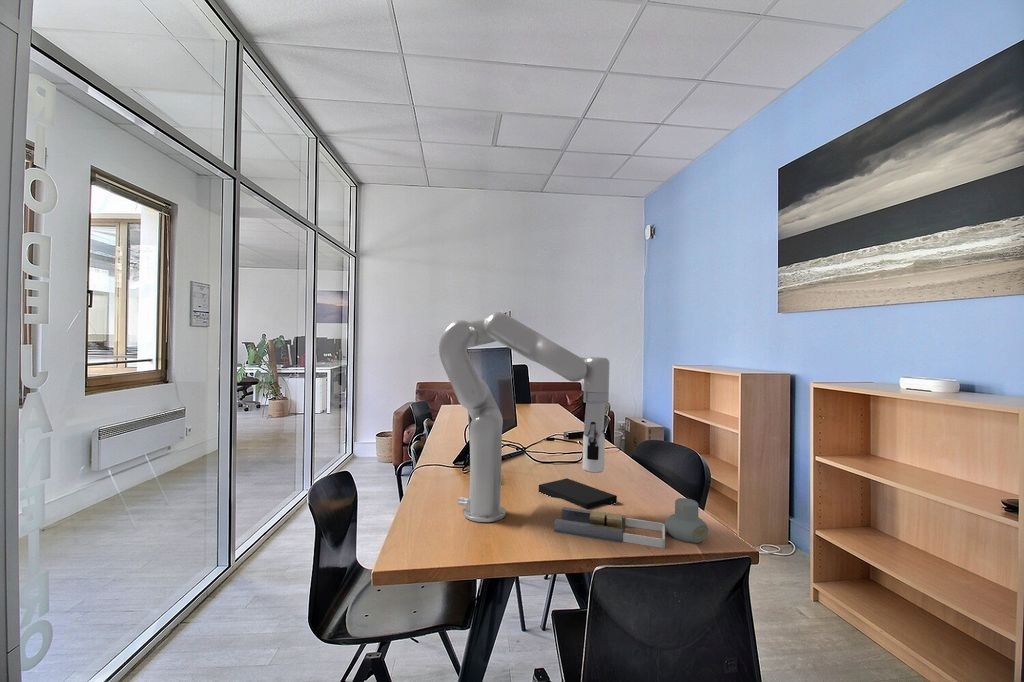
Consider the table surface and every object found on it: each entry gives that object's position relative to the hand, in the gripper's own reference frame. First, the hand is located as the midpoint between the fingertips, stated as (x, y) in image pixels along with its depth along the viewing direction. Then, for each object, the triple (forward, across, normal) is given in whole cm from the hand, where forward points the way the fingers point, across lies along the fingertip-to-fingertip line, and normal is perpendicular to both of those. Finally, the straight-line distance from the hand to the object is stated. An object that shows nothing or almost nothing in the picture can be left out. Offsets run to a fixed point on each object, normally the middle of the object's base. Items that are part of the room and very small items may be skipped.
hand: (594, 456), depth 130 cm
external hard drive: (+19, -15, -8) cm, 25 cm away
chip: (+17, +11, +7) cm, 22 cm away
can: (+4, 0, 0) cm, 4 cm away
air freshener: (+18, +6, +26) cm, 32 cm away
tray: (+18, +11, +15) cm, 26 cm away
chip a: (+17, +11, +3) cm, 21 cm away
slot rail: (+18, +11, +1) cm, 21 cm away
